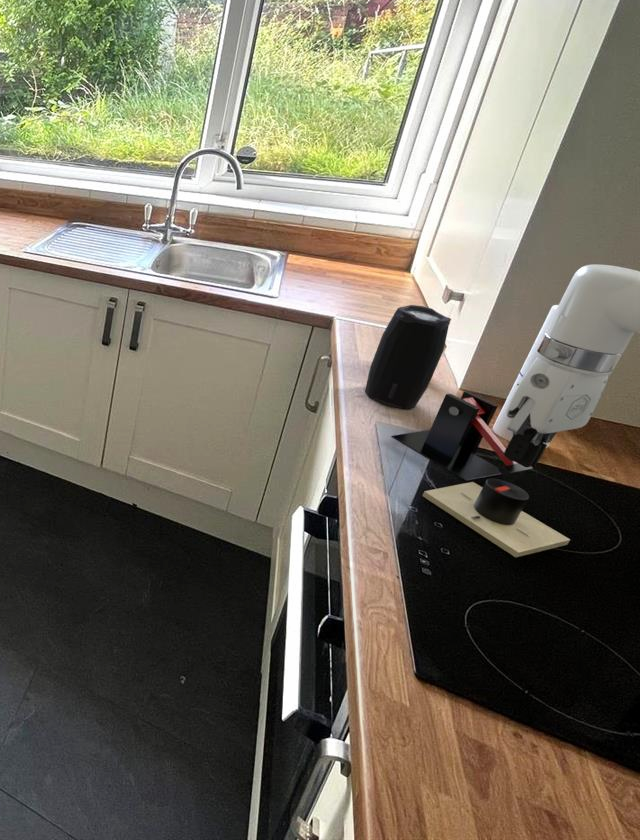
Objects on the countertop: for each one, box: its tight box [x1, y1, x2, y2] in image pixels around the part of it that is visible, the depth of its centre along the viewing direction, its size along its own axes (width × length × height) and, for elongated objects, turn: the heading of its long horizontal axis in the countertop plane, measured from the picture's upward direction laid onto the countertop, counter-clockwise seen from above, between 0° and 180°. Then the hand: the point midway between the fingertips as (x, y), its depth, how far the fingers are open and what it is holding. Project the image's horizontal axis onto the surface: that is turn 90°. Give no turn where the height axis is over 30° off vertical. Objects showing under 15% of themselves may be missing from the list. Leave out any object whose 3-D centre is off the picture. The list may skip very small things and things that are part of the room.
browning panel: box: [422, 481, 571, 558], centre depth 83 cm, size 12×10×2 cm
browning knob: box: [474, 478, 530, 525], centre depth 82 cm, size 4×4×5 cm
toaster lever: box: [462, 397, 534, 476], centre depth 91 cm, size 12×5×2 cm
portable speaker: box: [364, 304, 452, 411], centre depth 110 cm, size 9×9×20 cm
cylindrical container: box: [492, 304, 559, 449], centre depth 98 cm, size 7×7×25 cm
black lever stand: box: [390, 390, 503, 482], centre depth 95 cm, size 12×9×12 cm
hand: (518, 460), depth 88 cm, fingers closed
